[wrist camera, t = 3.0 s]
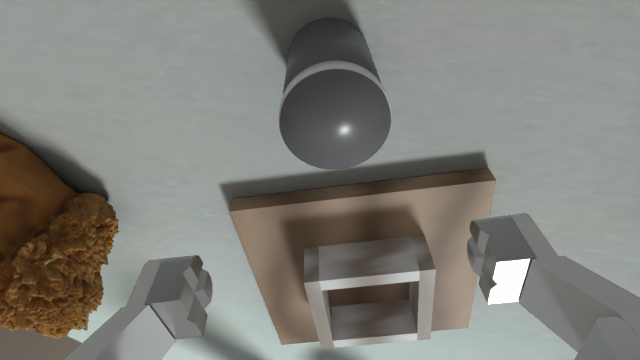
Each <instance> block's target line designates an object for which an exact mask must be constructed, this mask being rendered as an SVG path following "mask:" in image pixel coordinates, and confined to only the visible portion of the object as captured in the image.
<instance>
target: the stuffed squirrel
mask: <svg viewBox="0 0 640 360" xmlns="http://www.w3.org/2000/svg"><path fill="white" fill-rule="evenodd" d="M105 200H106V199H105V197H104V196H103V195H100V194H98V193H91V192H89V193H88V192H85V193H76V192H75V191H74V190H73V189H72V188H70V187H69V186H67V185H65V184H64V183H63V182H62V181H61V179H60V178H59V177H58V176H57V175H56V174H55V173H54V172H53V171H52V170H51V169H50V168H49V167H48V166H47V165H46V164H45V163H44V162H43V161H41V160H40V159H39V158H38V157H37V156H36V155H35V154H34V153H33V152H31V151H30V150H29V149H28V148H27V147H26V146H24V145H23V144H21V143H20V142H18V141H16V140H13V139H11V138H9V137H7V136H5V135H2V134H0V327H4V328H7V327H9V330H10V331H13V330H17V329H22V330H23V329H24V330H31V329H34V330H36V332H38V333H41V335H43V336H48V337H53V338H55V339H58V338H62V337H63V336H67V335H68V333H69V331H70V330H72V329H77V330H80V329H84V330H87V327H88V326H87V324H88V318H89V317H88V315H89V313H92V311H97V310H96V309H97V306H99V305H101V304H102V303H101V299H102V295H104V294H103V289H104V288H103V286H102V283H103V282H102V276H101V275H100V270H101V265H102V264H105V265H108V261H107V255H108V254H109V253H111V252H110V250H111V249H112V247H113V246H112V243H113V240H112V238H113V237H114V235H115V234H117V233H118V232H119V231H118V230H117V229H118V219H116V216H115V215H116V213H115V211H114V210H113V207H112V206H111V205H110V204H108V202H106V201H105Z"/></svg>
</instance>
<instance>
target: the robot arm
mask: <svg viewBox="0 0 640 360" xmlns="http://www.w3.org/2000/svg"><path fill="white" fill-rule="evenodd" d="M469 230H470V233H471V235H472V237H470V238H469V239H468V242H467V253H468V259H469V262H470V265H471V268H472V270H473V272H475V273H476V274H478V275H479V276H480V280H479V286H480V288H481V290H482V292H483V295H484V297H485V299H486V301H487V303H488V304H495V303H507V302H518V301H519V304H521V305H522V306H523V307H524V308H525V309H527V310H528V311H529V312H530V313H531V314H533V315H534V316H535V317H536V318H537V319H539V320H540V321H541V322H542V323H543V324H545V325H546V326H547V327H548V328H549V329H551V330H552V331H553V332H554V333H555V334H557V335H558V336H559V337H560V338H561V339H563V340H564V341H565V342H566V343H567V344H569V345H570V346H571V347H572V348H573V349H575V350H576V351H577V352H578V354H577V356H576V358H575V360H640V297H638V296H636V295H634V294H632V293H630V292H629V291H627V290H625V289H623V288H621V287H620V286H618V285H616V284H614V283H612V282H611V281H609V280H607V279H605V278H603V277H602V276H600V275H598V274H596V273H594V272H593V271H591V270H589V269H587V268H585V267H584V266H582V265H580V264H578V263H576V262H575V261H573V260H571V259H569V258H567V257H565V256H558V255H557V253H556V252H555V251H554V249H553V248H552V246H551V245H550V244H549V242H548V241H547V239H546V238H545V236H544V235H543V234H542V232H541V231H540V229H539V228H538V227H537V225H536V224H535V222H534V221H533V219H532V218H531V217H530V215H528V214H527V213H523V214H515V215H508V216H499V217H492V218H485V219H477V220H472V221H471V223H470V228H469ZM202 265H203V262H202V260H201V258H200V257H199V256H196V255H195V256H185V257H175V258H165V259H157V260H149V261H148V262H147V263H146V264H145V265H144V267H143V269H142V271H141V274H140V276H139V278H138V281H137V283H136V285H135V287H134V290H133V292H132V294H131V297H130V299H129V301H128V303H127V306H126V307H124V308H120V309H119V310H118V311H117V312H116V313H115V314H114V315H113V316H112V317H111V318H110V319H108V320H107V321H106V322H105V323H104V324H103V325H102V326H101V327H100V328H99V329H97V330H96V331H95V332H94V333H93V334H92V335H91V336H90V337H89V338H88V339H87V340H85V341H84V342H83V343H82V344H81V345H80V346H79V347H78V348H77V349H76V350H74V351H73V352H72V353H71V354H70V355H69V356H68V357H67V358H66V359H65V360H162V358H163V357H164V356H165V354H166V353H167V352H168V350H169V349H170V348H171V346H172V345H173V344H174V343H175V340H176V339H183V338H190V337H198V336H203V332H204V328H205V324H206V320H207V316H208V315H207V314H206V312H205V310H204V309H205V308H206V307H207V306H208V304H209V303H210V302H211V298H212V281H211V277H210V275H209V273H208V272H207V271H205V270H203V269H202Z"/></svg>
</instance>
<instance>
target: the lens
mask: <svg viewBox="0 0 640 360" xmlns="http://www.w3.org/2000/svg"><path fill="white" fill-rule="evenodd" d="M390 125H391V107H390V103H389V100H388V97H387V95H386V92H385V90H384V88H383V86H382V84H381V81H380V79H379V76H378V73H377V70H376V68H375V65H374V62H373V59H372V56H371V54H370V51H369V48H368V45H367V43H366V40H365V38H364V37H363V35H362V34H361V33H360V31H359V30H358V29H357V28H356V27H355V26H353V25H352V24H350V23H348V22H346V21H344V20H341V19H337V18H322V19H318V20H315V21H313V22H311V23H309V24H307V25H306V26H304V27H303V28H302V29H301V30H300V31H299V32H298V33H297V34H296V36H295V37H294V39H293V41H292V43H291V46H290V49H289V55H288V62H287V69H286V77H285V84H284V91H283V96H282V100H281V104H280V111H279V127H280V132H281V135H282V138H283V140H284V142H285V144H286V145H287V147H288V148H289V150H290V151H291V152H292V153H293V154H294V155H295V156H296V157H297V158H299V159H300V160H302V161H303V162H305V163H307V164H309V165H312V166H315V167H318V168H323V169H344V168H349V167H352V166H355V165H358V164H360V163H362V162H364V161H366V160H367V159H369V158H370V157H371V156H373V155H374V154H375V153H376V152H377V151H378V150H379V149H380V148H381V146H382V145H383V143H384V142H385V140H386V138H387V136H388V133H389V130H390Z"/></svg>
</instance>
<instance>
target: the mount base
mask: <svg viewBox="0 0 640 360" xmlns="http://www.w3.org/2000/svg"><path fill="white" fill-rule="evenodd" d="M495 184H496V179H495V178H494V176H493V175H492V173H491V171H490V170H489V168H485V169H477V170H469V171H460V172H452V173H444V174H435V175H427V176H419V177H410V178H402V179H394V180H385V181H377V182H369V183H360V184H352V185H344V186H335V187H327V188H319V189H310V190H302V191H294V192H285V193H277V194H269V195H260V196H252V197H244V198H235V199H232V203H231V207H230V211H229V212H230V214H231V217H232V220H233V222H234V225H235V227H236V230H237V232H238V235H239V237H240V240H241V242H242V245H243V247H244V250H245V253H246V255H247V258H248V260H249V263H250V265H251V268H252V270H253V273H254V275H255V278H256V280H257V283H258V286H259V288H260V291H261V293H262V296H263V298H264V301H265V303H266V306H267V308H268V311H269V314H270V316H271V319H272V321H273V324H274V326H275V329H276V331H277V334H278V336H279V339H280V341H281V344H282V345H284V344H295V343H306V342H317V341H320V345H321V349H323V348H335V347H346V346H357V345H368V344H379V343H391V342H402V341H413V340H424V339H430V336H431V331H438V330H449V329H460V328H468V324H469V319H470V314H471V309H472V303H473V298H474V293H475V288H476V283H477V277H478V274H476V273H475V272H473V270H472V268H471V265H470V262H469V259H468V253H467V242H468V239H469V238H470V237H472V235H471V233H470V230H469V228H470V223H471V221H472V220H477V219H485V218H489V215H490V210H491V204H492V199H493V194H494V189H495Z"/></svg>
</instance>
